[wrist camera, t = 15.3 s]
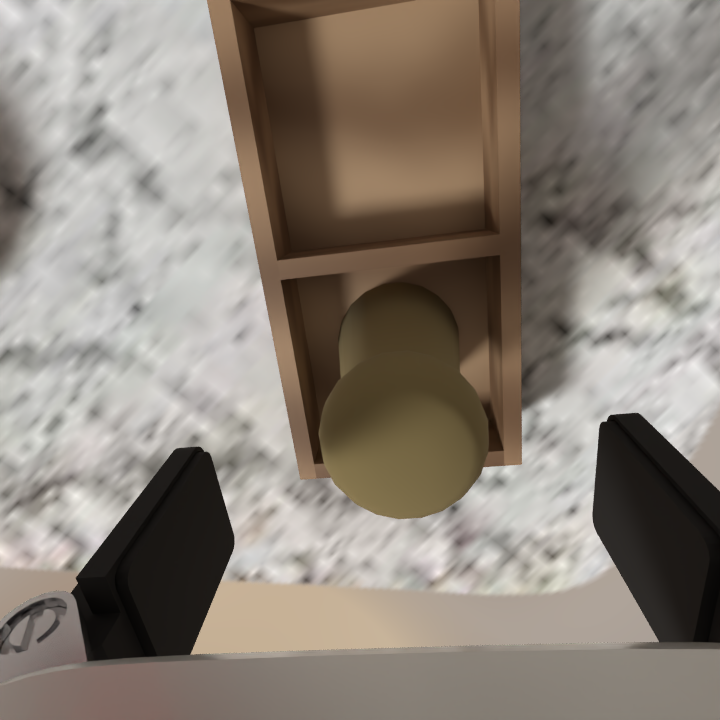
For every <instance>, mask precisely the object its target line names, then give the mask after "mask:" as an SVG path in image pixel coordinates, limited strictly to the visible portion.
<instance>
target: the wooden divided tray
mask: <svg viewBox="0 0 720 720" xmlns="http://www.w3.org/2000/svg"><path fill="white" fill-rule="evenodd" d="M207 3H208V8H209V13H210V18H211V23H212V28H213V33H214V39H215V44H216V49H217V54H218V59H219V64H220V69H221V74H222V80H223V85H224V90H225V95H226V100H227V105H228V110H229V115H230V121H231V126H232V131H233V136H234V141H235V146H236V151H237V156H238V162H239V167H240V172H241V177H242V182H243V187H244V192H245V197H246V202H247V208H248V213H249V218H250V223H251V228H252V233H253V238H254V243H255V249H256V254H257V259H258V264H259V269H260V274H261V279H262V284H263V290H264V295H265V300H266V305H267V310H268V315H269V320H270V325H271V331H272V336H273V341H274V346H275V351H276V356H277V361H278V366H279V372H280V377H281V382H282V387H283V392H284V397H285V402H286V407H287V412H288V418H289V423H290V428H291V433H292V438H293V443H294V448H295V453H296V459H297V464H298V469H299V474H300V479H316V478H330V477H331V476H330V474H329V473H328V471H327V469H326V467H325V465H324V462H323V456H322V450H321V445H320V439H319V428H320V422H321V417H322V412H323V408H324V405H325V402H326V400H327V398H328V397H329V395H330V393H331V392H332V390H333V388H334V387H335V385H336V383H337V382H338V380H340V379H341V374H340V359H339V345H338V337H339V332H340V326H341V321H342V319H343V318H344V316H345V314H346V312H347V311H348V309H349V307H350V305H351V304H352V303H353V302H355V301H356V300H357V299H358V298H359V297H360V296H361V295H362V294H363V293H364V292H366V291H369V290H371V289H373V288H375V287H378V286H380V285H382V284H389V283H399V282H404V283H409V284H414V285H419V286H422V287H424V288H426V289H428V290H429V291H431V292H433V293H435V294H436V295H438V296H439V297H440V298H441V299H442V300H443V301H444V302H445V304H446V305H447V306H448V307H449V308H450V309H451V311H452V313H453V316H454V318H455V321H456V323H457V326H458V333H459V358H460V373H461V374H462V375H463V376H464V378H465V379H466V380H467V381H468V382H469V383H470V384H471V385H472V386H473V387H474V389H475V390H476V392H477V395H478V397H479V399H480V401H481V404H482V406H483V409H484V411H485V414H486V416H487V418H488V433H489V447H488V455H487V458H486V460H485V463H484V466H483V467H491V466H506V465H521V464H522V410H521V182H520V0H207Z"/></svg>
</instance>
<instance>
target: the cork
mask: <svg viewBox="0 0 720 720" xmlns="http://www.w3.org/2000/svg"><path fill="white" fill-rule="evenodd" d="M338 345H339V359H340V374H341V379H340V380H338V382H337V383H336V385H335V387H334V388H333V390H332V392H331V393H330V395H329V397H328V398H327V400H326V402H325V405H324V408H323V412H322V417H321V422H320V428H319V439H320V445H321V450H322V456H323V462H324V465H325V467H326V469H327V471H328V473H329V474H330V476H331V478H332V480H333V482H334V483H335V485H336V486H337V487H338V488H339V489H341V490H342V491H343V492H344V493H345V494H346V495H347V496H348V497H349V498H350V499H351V500H352V501H353V502H355V503H356V504H357V505H359V506H361V507H363V508H365V509H367V510H369V511H371V512H373V513H375V514H377V515H382V516H387V517H391V518H396V519H407V518H422V517H425V516H428V515H431V514H434V513H437V512H440V511H443V510H445V509H446V508H448V507H449V506H451V505H452V504H454V503H455V502H456V501H458V500H459V499H461V498H462V497H463V496H464V495H465V494H466V493H467V492H468V490H469V489H470V488H471V486H472V485H473V484H474V483H475V481H476V480H477V479H478V478H479V476H480V475H481V472H482V469H483V466H484V463H485V460H486V458H487V455H488V447H489V433H488V418H487V416H486V414H485V411H484V409H483V406H482V404H481V401H480V399H479V397H478V395H477V392H476V390H475V389H474V387H473V386H472V385H471V384H470V383H469V382H468V381H467V380H466V379H465V378H464V376H463V375H462V374H461V373H460V358H459V333H458V326H457V323H456V321H455V318H454V316H453V313H452V311H451V309H450V308H449V307H448V306H447V305H446V304H445V302H444V301H443V300H442V299H441V298H440V297H439V296H438V295H436V294H435V293H433V292H431V291H429V290H428V289H426V288H424V287H422V286H419V285H414V284H409V283H404V282H399V283H389V284H382V285H380V286H378V287H375V288H373V289H371V290H369V291H366V292H364V293H363V294H362V295H361V296H360V297H359V298H358V299H357V300H356V301H355V302H353V303H352V304H351V305H350V307H349V309H348V311H347V312H346V314H345V316H344V318H343V319H342V321H341V326H340V332H339V337H338Z"/></svg>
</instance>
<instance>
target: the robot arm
mask: <svg viewBox="0 0 720 720" xmlns="http://www.w3.org/2000/svg"><path fill="white" fill-rule="evenodd" d="M593 523H594V527H595V530H596V532H597V534H598V536H599V537H600V539H601V541H602V543H603V544H604V546H605V548H606V550H607V551H608V553H609V555H610V556H611V558H612V560H613V562H614V563H615V565H616V567H617V569H618V570H619V572H620V574H621V576H622V577H623V579H624V581H625V583H626V584H627V586H628V588H629V590H630V591H631V593H632V595H633V597H634V598H635V600H636V602H637V603H638V605H639V607H640V609H641V611H642V612H643V614H644V616H645V618H646V619H647V621H648V622H649V625H650V626H651V628H652V630H653V631H654V633H655V635H656V637H657V638H658V640H659V642H634V643H629V642H628V643H570V644H527V645H484V646H483V645H482V646H449V647H448V646H445V647H410V648H409V647H408V648H378V649H377V648H374V649H340V650H309V651H280V652H251V653H223V654H196V655H190V654H191V651H192V649H193V647H194V644H195V642H196V639H197V637H198V635H199V632H200V630H201V627H202V625H203V622H204V620H205V618H206V615H207V613H208V610H209V608H210V605H211V603H212V600H213V598H214V596H215V593H216V591H217V588H218V586H219V584H220V581H221V579H222V576H223V574H224V571H225V569H226V567H227V564H228V562H229V559H230V557H231V554H232V552H233V549H234V534H233V530H232V527H231V523H230V520H229V517H228V513H227V510H226V506H225V503H224V499H223V496H222V492H221V489H220V486H219V482H218V479H217V475H216V472H215V468H214V465H213V461H212V458H211V455H210V454H209V452H204V450H203V449H202V448H201V447H187V448H177V449H175V450H174V451H173V453H172V454H171V455H170V456H169V458H168V459H167V460H166V462H165V463H164V464H163V466H162V467H161V468H160V469H159V471H158V472H157V473H156V475H155V476H154V477H153V478H152V480H151V481H150V482H149V484H148V485H147V486H146V488H145V489H144V490H143V491H142V493H141V494H140V495H139V497H138V498H137V499H136V501H135V502H134V503H133V504H132V506H131V507H130V508H129V510H128V511H127V512H126V514H125V515H124V516H123V517H122V519H121V520H120V521H119V523H118V524H117V525H116V526H115V528H114V529H113V530H112V532H111V533H110V534H109V536H108V537H107V538H106V539H105V541H104V542H103V543H102V545H101V546H100V547H99V549H98V550H97V551H96V552H95V554H94V555H93V556H92V558H91V559H90V560H89V562H88V563H87V564H86V565H85V567H84V568H83V569H82V571H81V572H80V573H79V574H78V576H77V577H76V580H77V582H78V584H77V586H76V587H75V588H74V590H73V591H72V592H71V593H68V592H66V591H53V592H49V593H44V594H41V595H39V596H37V597H34V598H32V599H30V600H28V601H26V602H24V603H23V604H21V605H20V606H18V607H16V608H15V609H14V610H12V611H11V612H10V613H8V614H7V615H6V616H5V617H4V618H2V620H1V621H0V720H720V491H719V490H718V489H717V488H716V487H714V486H713V484H712V483H710V482H709V481H708V480H707V479H706V478H705V477H704V476H703V475H702V474H701V473H700V472H699V471H698V470H697V469H696V468H695V467H694V466H693V465H692V464H691V463H690V462H689V461H688V460H687V459H686V458H685V457H684V456H683V455H682V454H681V453H680V452H679V451H678V450H677V449H676V448H675V447H673V446H672V445H671V444H670V443H669V442H668V441H667V440H666V439H665V438H664V437H663V436H662V435H661V434H660V433H659V432H658V431H657V430H656V429H655V428H654V427H653V426H652V425H651V424H650V423H649V422H648V421H647V420H646V419H645V418H644V417H643V416H642V415H640V414H639V413H629V414H616V415H610V416H609V417H608V419H607V422H602V423H601V424H600V428H599V440H598V452H597V465H596V477H595V490H594V502H593Z"/></svg>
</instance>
